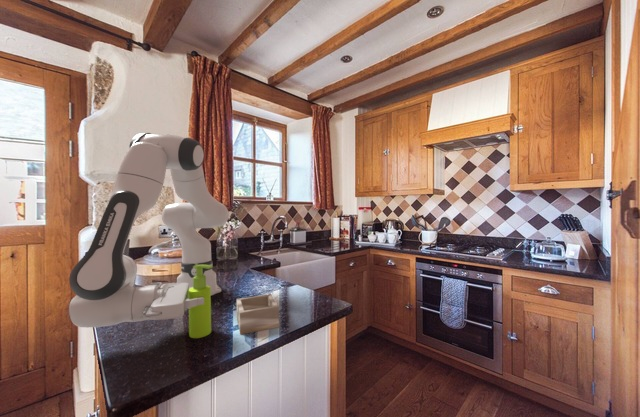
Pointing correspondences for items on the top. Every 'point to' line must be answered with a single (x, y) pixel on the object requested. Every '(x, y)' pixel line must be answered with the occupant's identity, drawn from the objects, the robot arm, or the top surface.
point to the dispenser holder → (257, 313)
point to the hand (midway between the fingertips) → (204, 295)
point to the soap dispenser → (200, 313)
